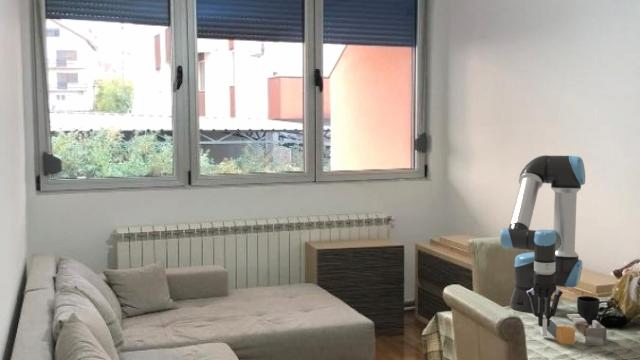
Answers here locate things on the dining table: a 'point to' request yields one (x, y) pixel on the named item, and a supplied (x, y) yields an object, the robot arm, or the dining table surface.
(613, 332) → the dining table surface
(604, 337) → the rail
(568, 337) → the grey and orange bar
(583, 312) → the mug
